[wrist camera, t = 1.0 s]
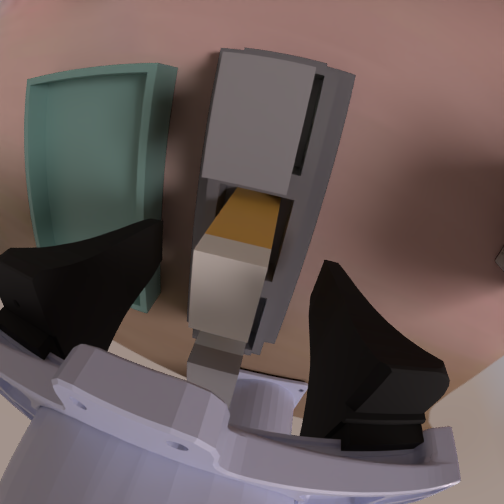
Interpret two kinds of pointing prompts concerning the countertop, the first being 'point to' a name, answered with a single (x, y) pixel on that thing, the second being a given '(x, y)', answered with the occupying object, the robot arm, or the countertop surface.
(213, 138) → the block
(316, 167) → the fuse holder
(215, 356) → the grey rectangular block
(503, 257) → the coffee box
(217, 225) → the block
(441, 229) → the countertop surface
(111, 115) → the parts tray
